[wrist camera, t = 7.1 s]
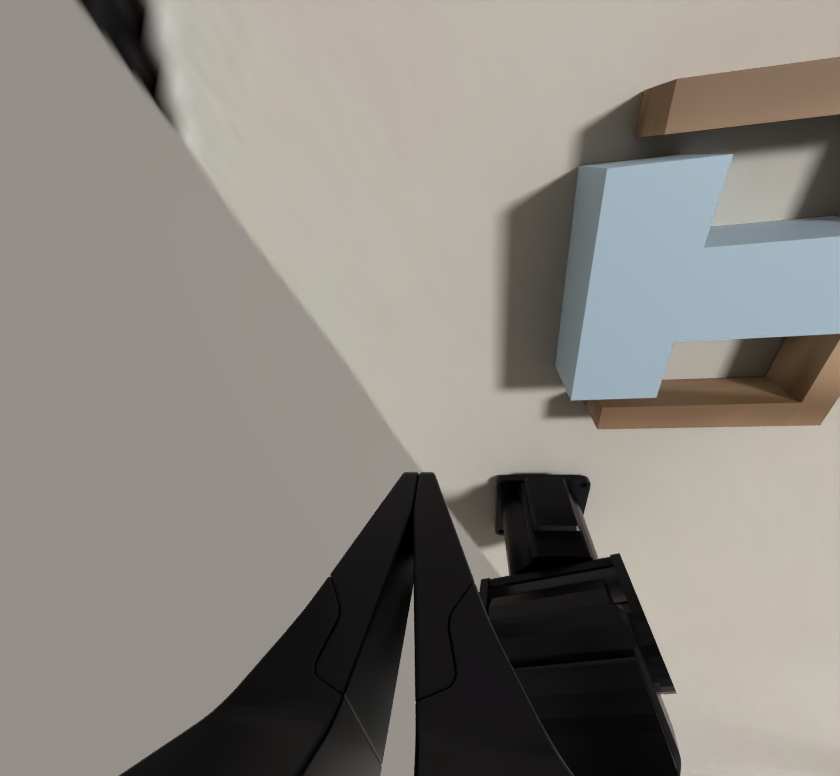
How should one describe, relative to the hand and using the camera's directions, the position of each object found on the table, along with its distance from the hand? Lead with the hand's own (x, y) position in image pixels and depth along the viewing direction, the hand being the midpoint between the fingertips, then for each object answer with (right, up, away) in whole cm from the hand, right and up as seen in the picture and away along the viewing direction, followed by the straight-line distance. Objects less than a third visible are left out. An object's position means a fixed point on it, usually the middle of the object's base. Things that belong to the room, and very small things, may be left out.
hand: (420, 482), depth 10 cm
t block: (+13, +8, +8) cm, 17 cm away
